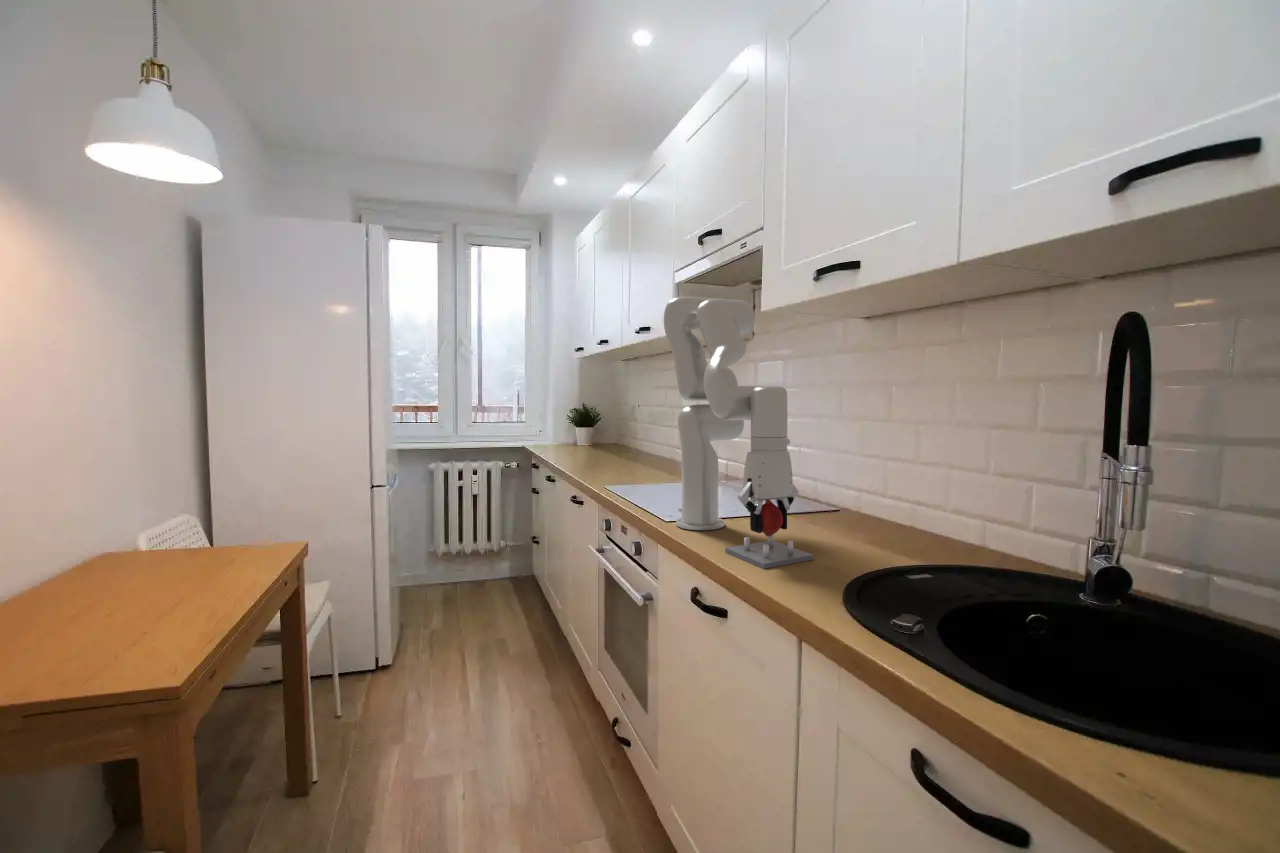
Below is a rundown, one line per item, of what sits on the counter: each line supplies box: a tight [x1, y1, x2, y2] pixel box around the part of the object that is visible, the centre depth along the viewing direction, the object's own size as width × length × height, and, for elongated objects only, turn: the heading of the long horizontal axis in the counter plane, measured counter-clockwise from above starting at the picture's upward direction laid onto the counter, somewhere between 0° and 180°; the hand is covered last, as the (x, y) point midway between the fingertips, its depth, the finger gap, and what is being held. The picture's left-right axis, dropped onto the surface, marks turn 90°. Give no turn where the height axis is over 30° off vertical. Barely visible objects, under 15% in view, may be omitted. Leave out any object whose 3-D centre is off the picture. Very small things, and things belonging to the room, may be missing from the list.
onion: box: [760, 500, 783, 537], centre depth 119 cm, size 6×6×8 cm
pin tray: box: [724, 534, 814, 570], centre depth 120 cm, size 13×13×4 cm
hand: (768, 529), depth 119 cm, fingers closed on onion, 5 cm apart
